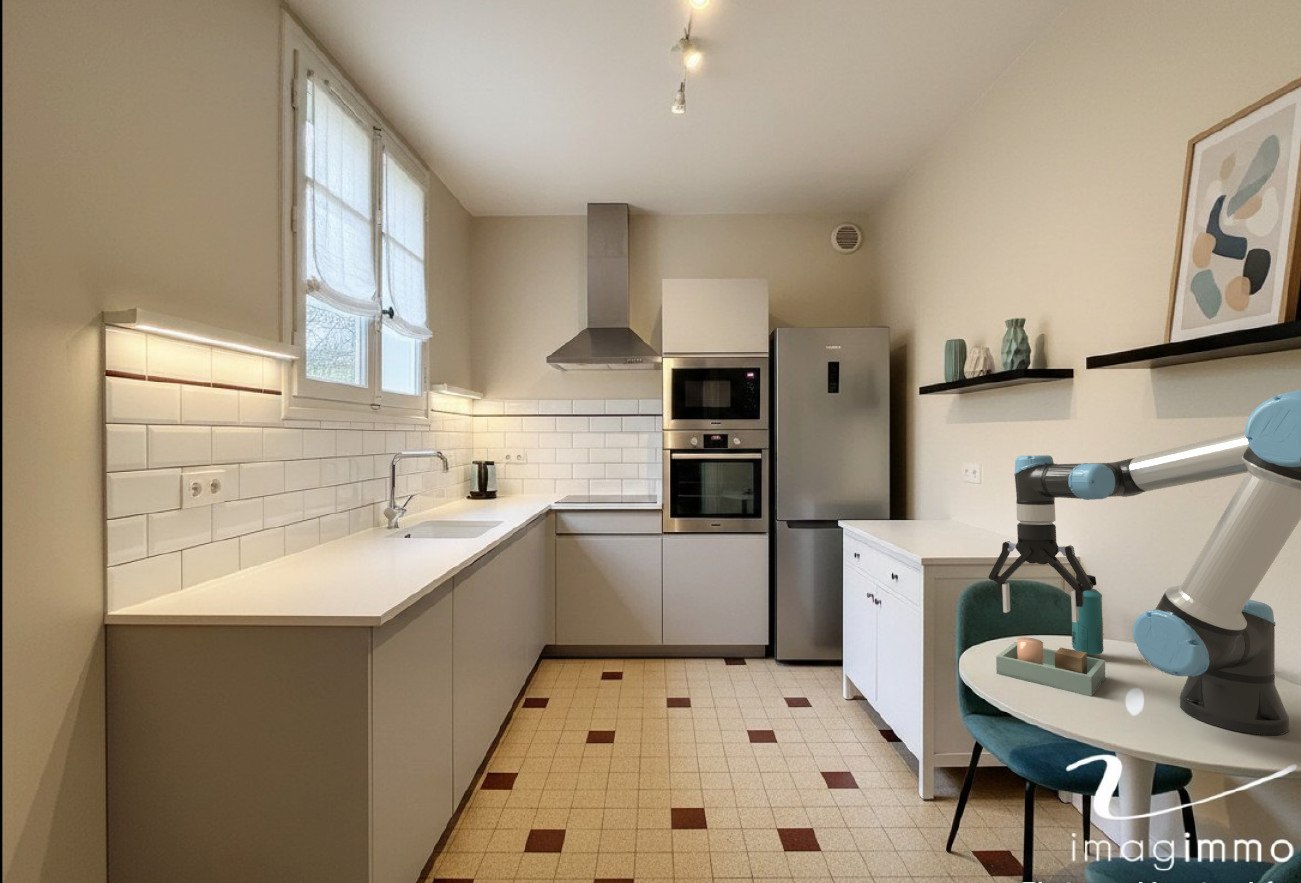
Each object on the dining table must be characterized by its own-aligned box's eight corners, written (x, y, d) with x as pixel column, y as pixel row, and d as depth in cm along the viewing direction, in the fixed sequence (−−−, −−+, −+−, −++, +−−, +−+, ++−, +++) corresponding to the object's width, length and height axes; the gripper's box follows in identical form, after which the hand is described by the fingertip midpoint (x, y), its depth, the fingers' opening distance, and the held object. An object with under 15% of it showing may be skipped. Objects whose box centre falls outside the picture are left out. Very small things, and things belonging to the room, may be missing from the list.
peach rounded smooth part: (1046, 671, 141) (1045, 640, 141) (1039, 677, 137) (1039, 645, 137) (1021, 666, 144) (1021, 636, 144) (1014, 671, 141) (1014, 640, 141)
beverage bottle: (1110, 660, 149) (1109, 578, 149) (1082, 661, 149) (1081, 578, 149) (1091, 651, 155) (1090, 572, 155) (1065, 651, 156) (1064, 572, 156)
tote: (1105, 678, 138) (1105, 660, 138) (1091, 696, 128) (1091, 677, 128) (1015, 658, 151) (1015, 642, 151) (996, 673, 141) (996, 656, 141)
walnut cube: (1087, 675, 139) (1086, 652, 139) (1081, 681, 135) (1081, 658, 135) (1060, 669, 142) (1060, 647, 142) (1055, 675, 139) (1054, 652, 139)
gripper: (1106, 524, 135) (1110, 622, 134) (982, 518, 153) (985, 605, 152) (1099, 527, 130) (1104, 629, 129) (972, 521, 148) (975, 610, 147)
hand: (1040, 616), depth 141 cm, fingers open, 13 cm apart
